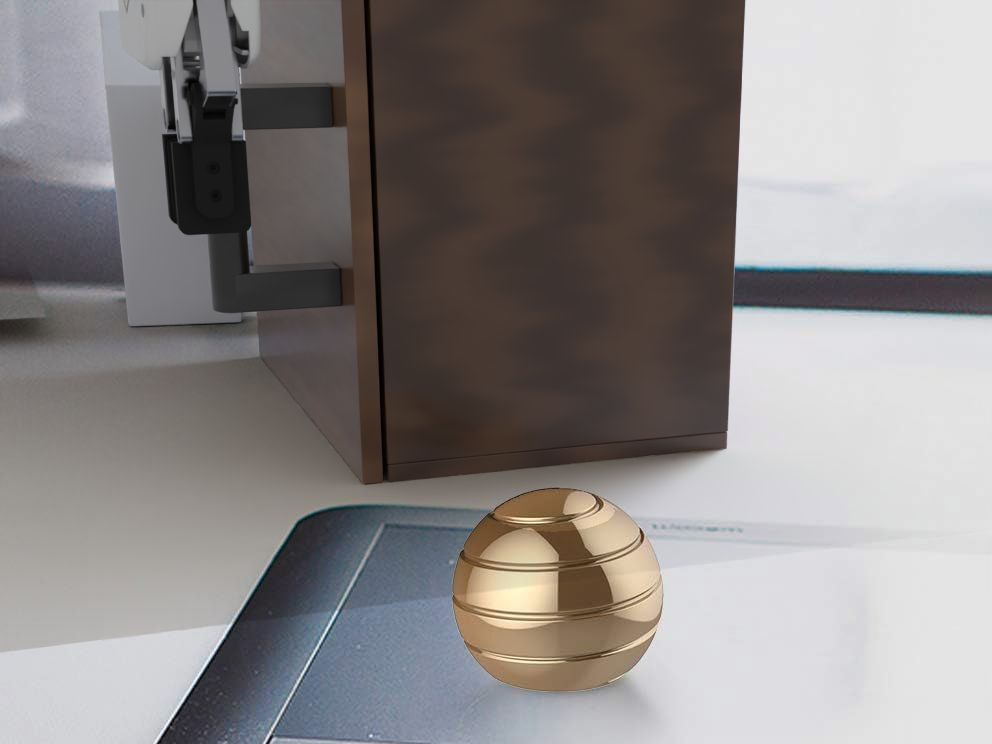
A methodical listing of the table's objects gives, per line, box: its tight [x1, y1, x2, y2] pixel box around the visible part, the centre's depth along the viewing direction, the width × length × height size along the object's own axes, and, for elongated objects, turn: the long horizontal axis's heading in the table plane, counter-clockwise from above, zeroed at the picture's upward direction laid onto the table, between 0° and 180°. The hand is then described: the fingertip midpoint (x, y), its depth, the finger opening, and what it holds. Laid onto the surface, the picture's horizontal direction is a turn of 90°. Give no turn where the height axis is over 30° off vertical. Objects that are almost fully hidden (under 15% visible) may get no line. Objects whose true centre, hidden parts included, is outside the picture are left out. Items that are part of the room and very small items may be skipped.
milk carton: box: [98, 9, 243, 327], centre depth 112 cm, size 7×7×19 cm
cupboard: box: [364, 0, 747, 483], centre depth 94 cm, size 18×26×24 cm
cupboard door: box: [207, 0, 384, 485], centre depth 90 cm, size 7×26×24 cm, turn 22°
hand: (210, 224), depth 80 cm, fingers closed on cupboard door, 2 cm apart
